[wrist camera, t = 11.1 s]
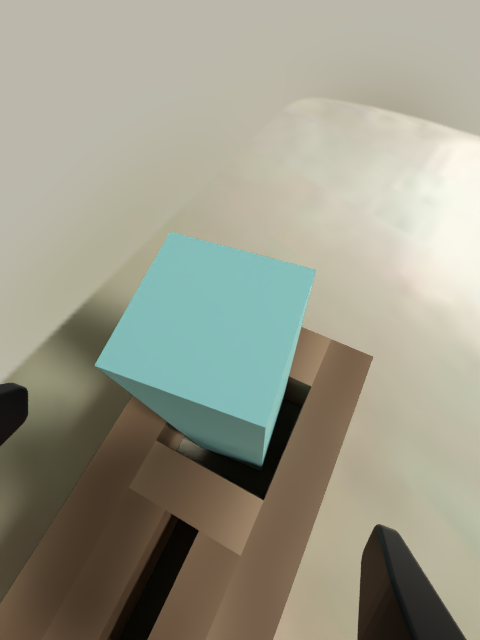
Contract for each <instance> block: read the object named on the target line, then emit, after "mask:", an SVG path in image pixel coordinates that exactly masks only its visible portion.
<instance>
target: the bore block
mask: <svg viewBox="0 0 480 640" xmlns="http://www.w3.org/2000/svg"><path fill="white" fill-rule="evenodd" d="M372 359H373V356H370V355H368V354H365V353H363V352H360V351H358V350H356V349H353V348H351V347H348V346H346V345H344V344H341V343H339V342H336V341H334V340H331V339H329V338H327V337H324V336H322V335H319V334H317V333H315V332H312V331H310V330H307V329H305V328H302V327H301V330H300V334H299V338H298V342H297V346H296V350H295V354H294V358H293V362H292V365H291V369H290V373H289V377H288V381H287V385H286V389H285V393H284V397H283V398H285V399H287V400H289V401H291V402H293V403H295V404H297V405H299V406H301V409H300V411H299V414H298V416H297V418H296V421H295V423H294V426H293V428H292V430H291V433H290V435H289V437H288V440H287V442H286V445H285V447H284V449H283V452H282V454H281V456H280V459H279V461H278V464H277V466H276V468H275V471H274V473H273V475H272V478H271V480H270V483H269V485H268V487H267V490H266V492H265V495H264V497H263V499H262V498H261V497H259V496H257V495H255V494H253V493H252V492H250V491H248V490H246V489H244V488H243V487H241V486H239V485H237V484H235V483H234V482H232V481H230V480H228V479H226V478H225V477H223V476H221V475H219V474H217V473H216V472H214V471H212V470H210V469H209V468H207V467H205V466H203V465H201V464H200V463H198V462H196V461H194V460H192V459H191V458H189V457H187V456H185V455H183V454H182V453H180V452H178V451H176V450H177V448H178V446H179V445H180V443H181V441H182V439H183V437H184V434H183V433H181V432H180V431H179V430H178V429H176V428H175V427H174V426H172V425H171V424H170V423H168V422H167V421H166V420H164V419H163V418H162V417H161V416H159V415H158V414H157V413H155V412H154V411H153V410H151V409H150V408H149V407H148V406H146V405H145V404H144V403H142V402H141V401H140V400H138V399H137V398H136V397H135V396H133V395H132V397H131V399H130V400H129V402H128V403H127V405H126V406H125V408H124V410H123V411H122V413H121V414H120V416H119V417H118V419H117V421H116V422H115V424H114V425H113V427H112V429H111V430H110V432H109V433H108V435H107V436H106V438H105V440H104V441H103V443H102V444H101V446H100V447H99V449H98V451H97V452H96V454H95V455H94V457H93V458H92V460H91V462H90V463H89V465H88V466H87V468H86V469H85V471H84V473H83V474H82V476H81V477H80V479H79V481H78V482H77V484H76V485H75V487H74V488H73V490H72V492H71V493H70V495H69V496H68V498H67V499H66V501H65V503H64V504H63V506H62V507H61V509H60V510H59V512H58V514H57V515H56V517H55V518H54V520H53V521H52V523H51V525H50V526H49V528H48V529H47V531H46V533H45V534H44V536H43V537H42V539H41V540H40V542H39V544H38V545H37V547H36V548H35V550H34V551H33V553H32V555H31V556H30V558H29V559H28V561H27V562H26V564H25V566H24V567H23V569H22V570H21V572H20V573H19V575H18V577H17V578H16V580H15V581H14V583H13V584H12V586H11V588H10V589H9V591H8V592H7V594H6V596H5V597H4V599H3V600H2V602H1V603H0V640H119V638H120V636H121V634H122V632H123V630H124V628H125V626H126V624H127V622H128V620H129V618H130V616H131V614H132V612H133V610H134V608H135V606H136V604H137V602H138V600H139V598H140V596H141V594H142V592H143V590H144V588H145V586H146V584H147V582H148V580H149V578H150V576H151V574H152V572H153V570H154V568H155V566H156V564H157V562H158V560H159V558H160V556H161V554H162V552H163V550H164V548H165V546H166V544H167V542H168V540H169V538H170V536H171V534H172V532H173V530H174V528H175V526H176V524H177V522H178V520H179V519H181V520H183V521H184V522H186V523H188V524H189V525H191V526H192V527H194V528H196V529H197V530H199V532H198V534H197V536H196V538H195V540H194V542H193V545H192V547H191V549H190V551H189V553H188V555H187V557H186V559H185V561H184V564H183V566H182V568H181V570H180V572H179V574H178V576H177V578H176V580H175V583H174V585H173V587H172V589H171V591H170V593H169V595H168V597H167V599H166V602H165V604H164V606H163V608H162V610H161V612H160V614H159V616H158V618H157V621H156V623H155V625H154V627H153V629H152V631H151V633H150V635H149V637H148V640H273V638H274V635H275V632H276V630H277V627H278V624H279V621H280V618H281V615H282V613H283V610H284V607H285V604H286V601H287V598H288V596H289V593H290V590H291V587H292V584H293V582H294V579H295V576H296V573H297V570H298V567H299V565H300V562H301V559H302V556H303V553H304V551H305V548H306V545H307V542H308V539H309V536H310V534H311V531H312V528H313V525H314V522H315V519H316V517H317V514H318V511H319V508H320V505H321V503H322V500H323V497H324V494H325V491H326V488H327V486H328V483H329V480H330V477H331V474H332V472H333V469H334V466H335V463H336V460H337V457H338V455H339V452H340V449H341V446H342V443H343V441H344V438H345V435H346V432H347V429H348V426H349V424H350V421H351V418H352V415H353V412H354V409H355V407H356V404H357V401H358V398H359V395H360V393H361V390H362V387H363V384H364V381H365V378H366V376H367V373H368V370H369V367H370V364H371V362H372Z"/></svg>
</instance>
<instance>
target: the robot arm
mask: <svg viewBox="0 0 480 640" xmlns="http://www.w3.org/2000/svg"><path fill="white" fill-rule="evenodd" d="M27 416H28V391H27V389H26V388H25V387H23V386H20V385H18V384H15V383H6V384H0V446H1V445H2V444H3V443H4V442H5V441H6V440H7V439H8V438H9V437H10V436H11V435H12V434H13V433H14V432H15V431H16V430H17V429H18V428H19V427H20V426H21V425H22V424H23V423H24V421H25V420H26V418H27ZM358 640H466V638H465V636H464V635H463V633H462V632H461V630H460V629H459V627H458V625H457V624H456V622H455V621H454V619H453V618H452V616H451V614H450V613H449V611H448V610H447V608H446V607H445V605H444V603H443V602H442V600H441V599H440V597H439V596H438V594H437V592H436V591H435V589H434V588H433V586H432V585H431V583H430V581H429V580H428V578H427V577H426V575H425V574H424V572H423V570H422V569H421V567H420V566H419V564H418V562H417V561H416V559H415V558H414V556H413V555H412V553H411V551H410V550H409V548H408V547H407V545H406V544H405V542H404V540H403V539H402V537H401V536H400V534H399V533H398V532H397V531H396V530H394V529H391V528H389V527H386V526H383V525H381V524H378V525H376V526H375V527H374V529H373V531H372V533H371V535H370V537H369V540H368V542H367V544H366V546H365V548H364V551H363V554H362V560H361V578H360V597H359V617H358Z"/></svg>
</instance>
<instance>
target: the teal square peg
mask: <svg viewBox="0 0 480 640" xmlns="http://www.w3.org/2000/svg"><path fill="white" fill-rule="evenodd" d="M315 272H316V270H315V269H311V268H307V267H303V266H299V265H295V264H292V263H288V262H284V261H280V260H276V259H272V258H269V257H265V256H261V255H257V254H253V253H250V252H246V251H242V250H238V249H234V248H230V247H227V246H223V245H219V244H215V243H211V242H207V241H204V240H200V239H196V238H192V237H188V236H184V235H181V234H177V233H173V232H170V233H169V235H168V237H167V239H166V240H165V242H164V244H163V246H162V247H161V249H160V251H159V253H158V254H157V256H156V258H155V260H154V261H153V263H152V265H151V267H150V269H149V270H148V272H147V274H146V276H145V277H144V279H143V281H142V283H141V284H140V286H139V288H138V290H137V291H136V293H135V295H134V297H133V298H132V300H131V302H130V304H129V305H128V307H127V309H126V311H125V312H124V314H123V316H122V318H121V320H120V321H119V323H118V325H117V327H116V328H115V330H114V332H113V334H112V335H111V337H110V339H109V341H108V342H107V344H106V346H105V348H104V349H103V351H102V353H101V355H100V356H99V358H98V360H97V362H96V363H95V365H94V366H95V367H97V368H98V369H99V370H101V371H102V372H103V373H105V374H106V375H107V376H108V377H110V378H111V379H112V380H114V381H115V382H116V383H118V384H119V385H120V386H121V387H123V388H124V389H125V390H127V391H128V392H129V393H131V394H132V395H133V396H135V397H136V398H137V399H138V400H140V401H141V402H142V403H144V404H145V405H146V406H148V407H149V408H150V409H151V410H153V411H154V412H155V413H157V414H158V415H159V416H161V417H162V418H163V419H164V420H166V421H167V422H168V423H170V424H171V425H172V426H174V427H175V428H176V429H178V430H179V431H180V432H181V433H183V434H184V435H185V436H187V437H188V438H189V439H191V440H192V441H193V442H194V443H196V444H197V445H198V446H200V447H202V448H205V449H207V450H210V451H212V452H215V453H217V454H220V455H223V456H225V457H228V458H230V459H233V460H235V461H238V462H241V463H243V464H246V465H248V466H251V467H253V468H256V469H259V470H262V467H263V463H264V460H265V457H266V454H267V450H268V447H269V444H270V441H271V437H272V434H273V431H274V428H275V424H276V421H277V418H278V415H279V411H280V408H281V405H282V401H283V397H284V393H285V389H286V385H287V381H288V377H289V373H290V369H291V365H292V362H293V358H294V354H295V350H296V346H297V342H298V338H299V334H300V330H301V326H302V323H303V319H304V315H305V311H306V307H307V303H308V299H309V295H310V291H311V287H312V284H313V280H314V276H315Z"/></svg>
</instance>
